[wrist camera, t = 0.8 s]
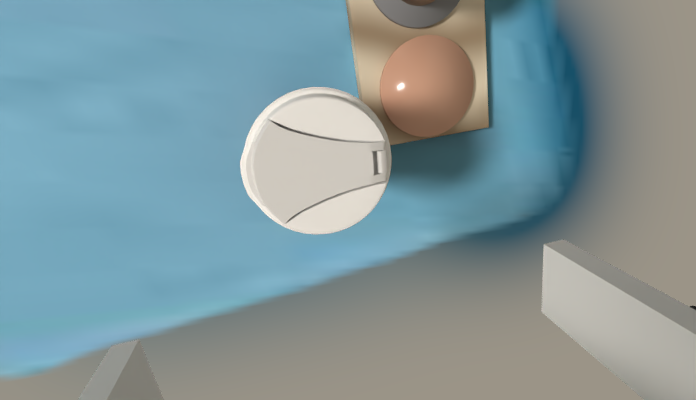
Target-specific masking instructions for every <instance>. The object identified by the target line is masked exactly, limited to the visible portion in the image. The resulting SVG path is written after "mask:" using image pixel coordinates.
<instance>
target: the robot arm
mask: <svg viewBox="0 0 696 400" xmlns="http://www.w3.org/2000/svg"><path fill="white" fill-rule="evenodd" d="M542 286H543V287H542V313H544V314H545V315H546V316H547V317H548V318H549V319H550V320H552V321H553V322H554V323H555V324H556V325H557V326H559V327H560V328H561V329H562V330H563V331H564V332H566V333H567V334H568V335H569V336H570V337H572V338H573V339H574V340H575V341H576V342H577V343H578V344H580V345H581V346H582V347H583V348H584V349H585V350H587V351H588V352H589V353H590V354H591V355H592V356H594V357H595V358H596V359H597V360H598V361H599V362H601V363H602V364H603V365H604V366H605V367H607V368H608V369H609V370H610V371H611V372H612V373H613V374H615V375H616V376H617V377H618V378H619V379H620V380H622V381H623V382H624V383H625V384H626V385H628V386H629V387H630V388H631V389H632V390H633V391H635V392H636V393H637V394H638V395H639V396H640V397H642V398H643V399H644V400H696V306H690V307H689V306H687V305H685V304H683V303H681V302H679V301H677V300H676V299H674V298H672V297H670V296H668V295H667V294H665V293H663V292H661V291H659V290H657V289H655V288H654V287H652V286H650V285H648V284H646V283H644V282H642V281H640V280H639V279H637V278H635V277H633V276H631V275H629V274H627V273H625V272H624V271H622V270H620V269H618V268H616V267H614V266H613V265H611V264H609V263H607V262H605V261H603V260H601V259H600V258H598V257H595V256H594V255H592V254H590V253H588V252H586V251H585V250H583V249H581V248H579V247H577V246H575V245H573V244H571V243H570V242H568V241H566V240H564V239H563V240H559V241H555V242H551V243H546V244H544V252H543V285H542ZM78 400H164V399H163V397H162V394H161V392H160V389H159V387H158V384H157V382H156V379H155V377H154V375H153V372H152V370H151V367H150V365H149V362H148V360H147V357H146V355H145V352H144V350H143V348H142V345H141V343H140V340H134V341H130V342H126V343H122V344H117V345H113V346H111V348H110V349H109V351H108V352H107V354H106V355H105V357H104V359H103V361H102V362H101V363H100V365H99V367H98V368H97V370H96V371H95V373H94V375H93V376H92V378H91V379H90V381H89V382H88V384H87V386H86V387H85V389H84V391H83V392H82V394H81V395H80V397H79V398H78Z"/></svg>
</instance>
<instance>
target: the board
mask: <svg viewBox="0 0 696 400" xmlns="http://www.w3.org/2000/svg"><path fill="white" fill-rule="evenodd" d="M346 6H347V13H348V20H349V28H350V35H351V42H352V50H353V57H354V64H355V72H356V79H357V86H358V93H359V100H361V101H362V102H363V103H365V104H366V105H367V106H368V107H369V108H370V109H371V110H372V111H373V112H374V113H375V114H376V116H377V117H378V119H379V120H380V122H381V123H382V125H383V127H384V129H385V131H386V133H387V136H388V140H389V143H390V145H395V144H400V143H406V142H411V141H416V140H422V139H427V138H433V137H438V136H444V135H449V134H454V133H460V132H465V131H471V130H476V129H482V128H487V127H489V120H488V91H487V61H486V31H485V1H484V0H460V1H459V2H458V4H457V6H456V7H455V8H454V9H453V11H452V12H451V13H450V14H449V15H448V16H446V17H445V18H444V19H442V20H441V21H439V22H437V23H435V24H433V25H430V26H428V27H424V28H407V27H403V26H400V25H398V24H395V23H394V22H392V21H390V20H389V19H388V18H387V17H385V16H384V15H383V14H382V13H381V12H380V10H379V9H378V8H377V6H376V5H375V3H374V1H373V0H346ZM423 35H438V36H442V37H445V38H447V39H449V40H451V41H453V42H454V43H456V44H457V45H458V46H459V47H460V48H461V49H462V50H463V51H464V53H465V54H466V56H467V58H468V60H469V62H470V64H471V67H472V71H473V78H474V88H473V94H472V99H471V102H470V104H469V107H468V109H467V111H466V112H465V114H464V115H463V117H462V118H461V119H460V120H459V122H458V123H457V124H456V125H454V126H453V127H452V128H451V129H449V130H447V131H446V132H444V133H441V134H439V135H435V136H430V137H419V136H414V135H411V134H408V133H405V132H403V131H402V130H400V129H399V128H397V127H396V126H395V125H394V124H393V123H392V122H391V121H390V120H389V118H388V117H387V115H386V113H385V111H384V109H383V106H382V103H381V98H380V80H381V75H382V71H383V68H384V66H385V64H386V62H387V60H388V59H389V57H390V56H391V55H392V53H393V52H394V51H395V50H396V49H397V48H398V47H399V46H401V45H402V44H403V43H405V42H407V41H408V40H410V39H413V38H416V37H418V36H423Z"/></svg>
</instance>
